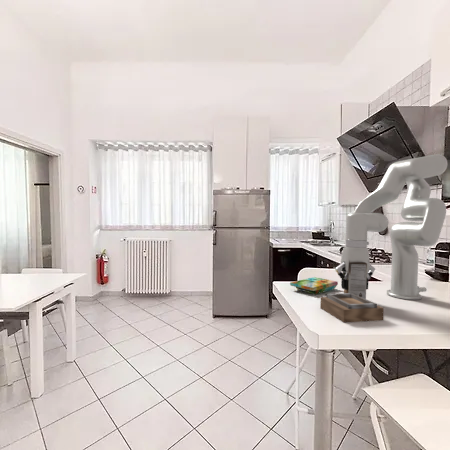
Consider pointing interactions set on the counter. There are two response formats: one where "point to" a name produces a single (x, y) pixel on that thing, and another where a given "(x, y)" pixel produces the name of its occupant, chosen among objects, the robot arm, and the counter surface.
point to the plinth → (351, 308)
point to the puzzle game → (314, 285)
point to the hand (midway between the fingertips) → (354, 288)
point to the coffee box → (357, 279)
